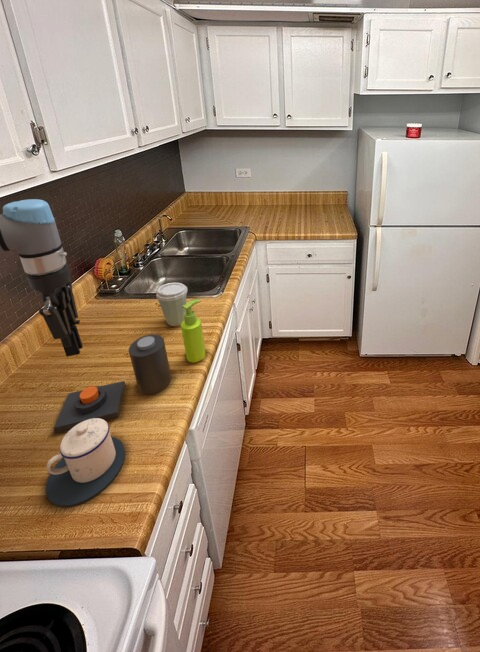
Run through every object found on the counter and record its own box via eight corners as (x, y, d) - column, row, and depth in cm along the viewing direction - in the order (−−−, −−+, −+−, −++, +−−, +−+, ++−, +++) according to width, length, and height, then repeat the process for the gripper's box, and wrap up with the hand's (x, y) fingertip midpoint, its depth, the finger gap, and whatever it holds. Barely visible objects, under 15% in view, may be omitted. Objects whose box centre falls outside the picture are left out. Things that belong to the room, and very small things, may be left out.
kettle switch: (79, 406, 86) (77, 400, 86) (83, 394, 90) (81, 388, 89) (97, 402, 88) (95, 396, 87) (100, 390, 91) (98, 384, 90)
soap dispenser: (211, 352, 110) (204, 301, 103) (194, 365, 105) (185, 312, 97) (200, 345, 113) (192, 295, 106) (182, 357, 108) (173, 305, 100)
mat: (34, 518, 66) (33, 516, 66) (60, 449, 79) (59, 447, 79) (118, 491, 71) (117, 490, 71) (130, 430, 84) (129, 428, 84)
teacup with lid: (113, 436, 82) (102, 402, 77) (120, 466, 75) (109, 430, 71) (53, 468, 75) (37, 431, 70) (55, 504, 68) (37, 466, 64)
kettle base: (55, 433, 83) (51, 422, 82) (70, 398, 93) (66, 388, 91) (118, 417, 87) (115, 406, 86) (126, 385, 97) (123, 375, 96)
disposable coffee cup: (178, 310, 132) (172, 277, 126) (198, 317, 127) (193, 283, 122) (155, 325, 123) (148, 290, 117) (176, 333, 119) (170, 298, 113)
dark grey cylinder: (136, 398, 93) (124, 356, 87) (141, 370, 102) (131, 330, 97) (170, 390, 96) (162, 348, 90) (172, 363, 105) (165, 324, 100)
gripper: (55, 281, 69) (83, 368, 78) (76, 252, 82) (99, 330, 90) (11, 287, 67) (45, 376, 75) (40, 256, 79) (66, 336, 88)
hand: (74, 351), depth 83 cm, fingers closed
